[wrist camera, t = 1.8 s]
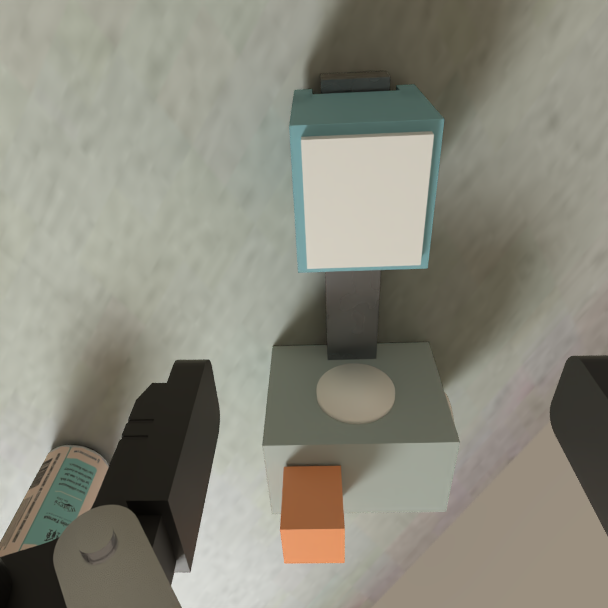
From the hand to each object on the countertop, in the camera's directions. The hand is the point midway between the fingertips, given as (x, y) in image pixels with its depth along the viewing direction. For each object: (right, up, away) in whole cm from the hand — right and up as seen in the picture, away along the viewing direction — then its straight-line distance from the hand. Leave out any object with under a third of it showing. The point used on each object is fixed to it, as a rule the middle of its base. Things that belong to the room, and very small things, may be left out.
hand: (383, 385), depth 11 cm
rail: (+1, +6, +16) cm, 17 cm away
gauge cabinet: (+1, -3, +22) cm, 22 cm away
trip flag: (-1, -8, +15) cm, 17 cm away
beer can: (-19, -10, +27) cm, 35 cm away
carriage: (+1, +10, +13) cm, 16 cm away
